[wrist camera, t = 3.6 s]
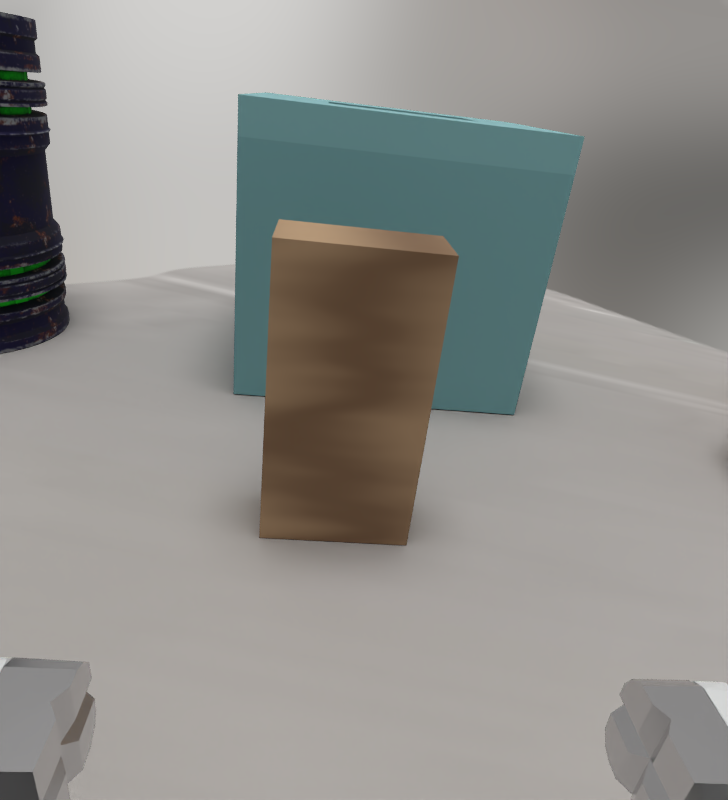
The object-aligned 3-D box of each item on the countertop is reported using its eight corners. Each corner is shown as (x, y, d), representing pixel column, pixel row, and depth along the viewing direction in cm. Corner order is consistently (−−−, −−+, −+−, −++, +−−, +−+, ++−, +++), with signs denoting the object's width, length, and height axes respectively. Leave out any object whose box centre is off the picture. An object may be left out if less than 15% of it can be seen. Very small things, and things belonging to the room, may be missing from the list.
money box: (233, 393, 29) (238, 94, 23) (258, 312, 40) (266, 92, 34) (514, 414, 31) (584, 136, 25) (466, 330, 41) (507, 122, 35)
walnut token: (259, 537, 20) (272, 237, 16) (266, 493, 23) (279, 219, 18) (406, 545, 21) (459, 256, 16) (398, 501, 23) (443, 236, 19)
